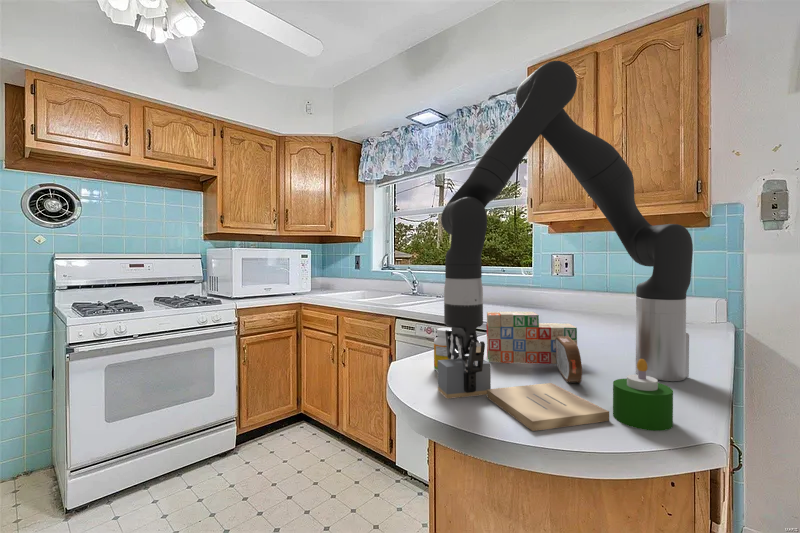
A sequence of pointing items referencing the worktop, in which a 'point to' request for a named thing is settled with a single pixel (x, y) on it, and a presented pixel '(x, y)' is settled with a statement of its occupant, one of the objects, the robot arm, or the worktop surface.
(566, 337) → the tin
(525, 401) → the board
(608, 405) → the worktop surface
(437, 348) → the supplement bottle
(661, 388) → the candle
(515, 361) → the stack of blocks
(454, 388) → the block
